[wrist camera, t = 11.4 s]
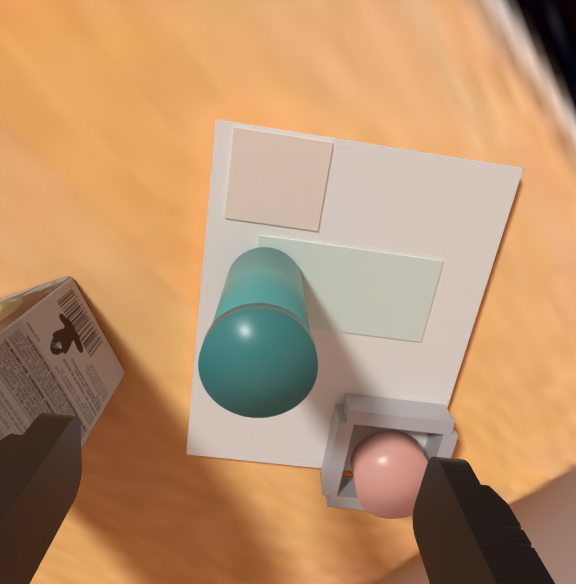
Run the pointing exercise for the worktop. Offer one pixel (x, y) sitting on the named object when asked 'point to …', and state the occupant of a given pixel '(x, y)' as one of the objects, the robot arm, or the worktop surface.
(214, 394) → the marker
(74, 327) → the coffee box
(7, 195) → the worktop surface
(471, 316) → the board
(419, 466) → the button
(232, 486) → the worktop surface
